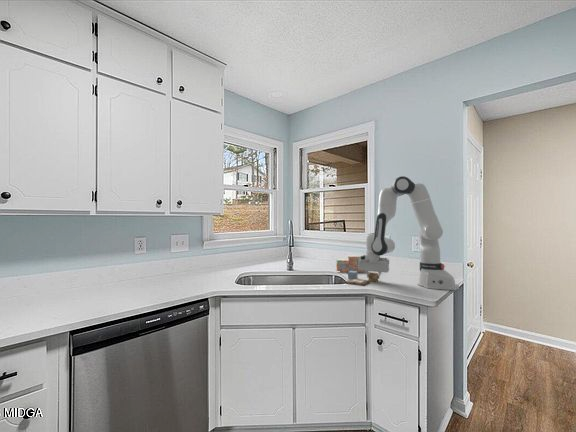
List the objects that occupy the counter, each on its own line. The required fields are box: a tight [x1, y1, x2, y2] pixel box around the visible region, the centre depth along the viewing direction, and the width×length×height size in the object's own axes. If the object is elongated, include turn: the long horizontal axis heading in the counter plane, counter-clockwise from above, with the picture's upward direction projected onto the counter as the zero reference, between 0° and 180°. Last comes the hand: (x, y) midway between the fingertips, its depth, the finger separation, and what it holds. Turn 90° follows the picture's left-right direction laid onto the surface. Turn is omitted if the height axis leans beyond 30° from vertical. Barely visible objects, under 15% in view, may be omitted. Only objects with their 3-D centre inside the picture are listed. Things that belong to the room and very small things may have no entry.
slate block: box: [347, 271, 359, 280], centre depth 204 cm, size 5×5×5 cm
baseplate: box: [345, 278, 371, 287], centre depth 191 cm, size 12×11×1 cm
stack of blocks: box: [336, 255, 365, 273], centre depth 232 cm, size 21×6×12 cm, turn 86°
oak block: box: [367, 272, 379, 283], centre depth 197 cm, size 5×5×5 cm
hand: (373, 278), depth 197 cm, fingers closed on oak block, 5 cm apart
